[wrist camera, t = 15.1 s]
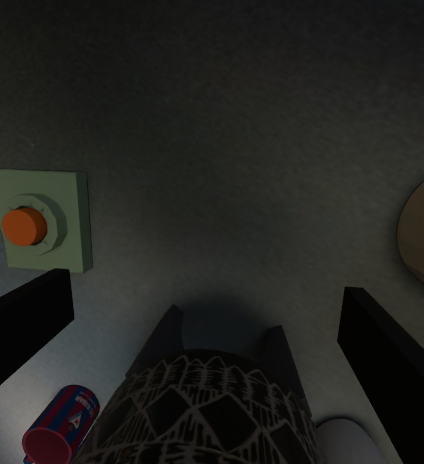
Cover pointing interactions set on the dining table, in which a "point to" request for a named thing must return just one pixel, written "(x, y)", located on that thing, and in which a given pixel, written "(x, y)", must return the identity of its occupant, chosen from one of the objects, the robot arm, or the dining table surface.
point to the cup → (60, 427)
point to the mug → (348, 443)
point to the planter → (205, 407)
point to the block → (49, 218)
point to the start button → (24, 226)
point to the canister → (413, 233)
